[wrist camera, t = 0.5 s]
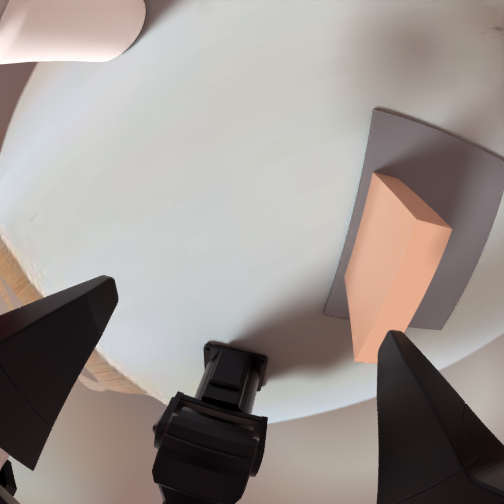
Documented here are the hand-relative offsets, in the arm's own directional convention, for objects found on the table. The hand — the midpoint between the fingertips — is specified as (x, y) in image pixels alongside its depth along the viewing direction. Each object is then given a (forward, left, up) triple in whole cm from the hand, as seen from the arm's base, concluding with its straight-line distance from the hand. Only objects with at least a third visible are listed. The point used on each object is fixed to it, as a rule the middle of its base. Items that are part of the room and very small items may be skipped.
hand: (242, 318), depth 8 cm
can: (+13, +14, -12) cm, 23 cm away
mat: (-1, -11, -12) cm, 16 cm away
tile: (-1, -7, -11) cm, 13 cm away
